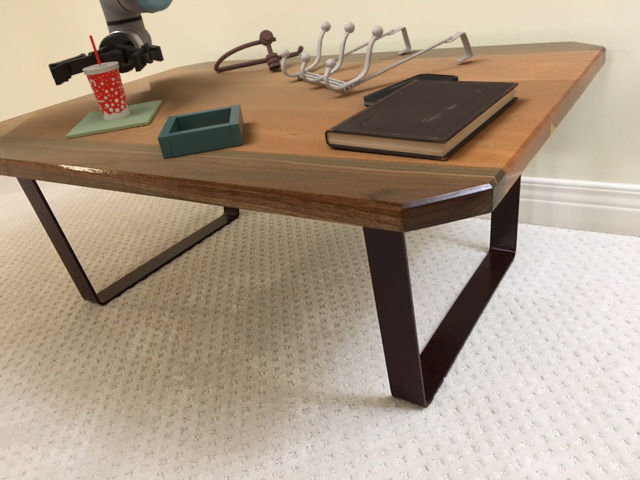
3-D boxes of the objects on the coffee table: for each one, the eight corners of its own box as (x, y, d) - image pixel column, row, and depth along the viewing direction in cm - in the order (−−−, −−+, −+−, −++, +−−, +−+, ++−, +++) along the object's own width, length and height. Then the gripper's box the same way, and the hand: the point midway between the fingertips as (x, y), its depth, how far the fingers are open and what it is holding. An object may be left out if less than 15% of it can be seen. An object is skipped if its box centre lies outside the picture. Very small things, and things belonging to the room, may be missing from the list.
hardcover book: (517, 99, 74) (518, 82, 73) (445, 161, 58) (444, 140, 57) (412, 94, 83) (411, 79, 82) (326, 147, 68) (323, 129, 66)
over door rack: (281, 82, 106) (272, 30, 101) (407, 51, 115) (403, 2, 111) (329, 100, 88) (321, 38, 84) (473, 62, 97) (472, 4, 93)
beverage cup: (100, 116, 100) (73, 37, 94) (133, 109, 101) (109, 30, 95) (99, 123, 95) (70, 40, 88) (134, 116, 96) (108, 33, 90)
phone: (461, 75, 85) (399, 102, 77) (461, 82, 86) (400, 109, 77) (421, 73, 90) (359, 97, 82) (421, 79, 91) (360, 104, 83)
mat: (66, 139, 91) (65, 135, 91) (91, 114, 105) (89, 111, 105) (148, 124, 92) (147, 121, 91) (162, 102, 106) (161, 99, 105)
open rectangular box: (163, 158, 74) (157, 137, 72) (173, 135, 83) (168, 116, 82) (243, 144, 74) (238, 123, 73) (244, 123, 84) (239, 104, 82)
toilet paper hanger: (299, 47, 131) (309, 19, 117) (309, 80, 131) (320, 56, 117) (212, 65, 126) (212, 38, 113) (222, 99, 126) (223, 76, 113)
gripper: (187, 59, 112) (175, 80, 93) (67, 80, 111) (30, 104, 93) (178, 21, 108) (162, 34, 90) (53, 42, 108) (12, 59, 89)
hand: (95, 70), depth 91 cm, fingers open, 13 cm apart
